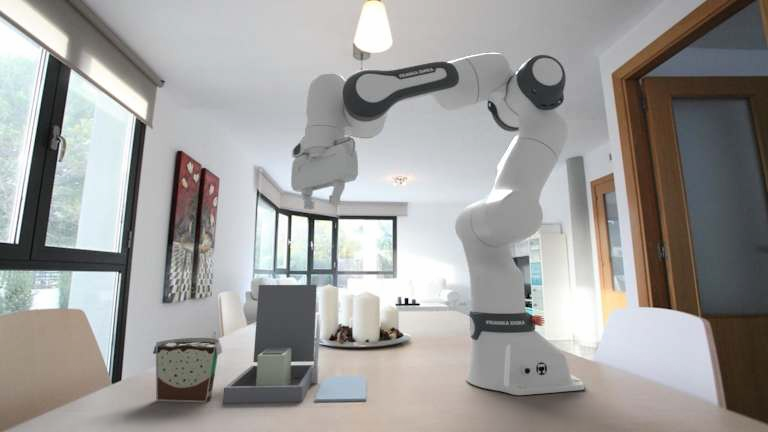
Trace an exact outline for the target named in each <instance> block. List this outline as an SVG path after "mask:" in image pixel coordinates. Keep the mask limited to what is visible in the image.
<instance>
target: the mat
mask: <svg viewBox="0 0 768 432" xmlns="http://www.w3.org/2000/svg"><path fill="white" fill-rule="evenodd" d="M366 401H367V376H366V375H365V376H324V377H323V378H322V380H321V382H320V385H319V388H318V390H317V393H316V394H315V398H314V403H316V402H317V403H318V402H319V403H321V402H323V403H325V402H328V403H329V402H366Z"/></svg>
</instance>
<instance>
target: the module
mask: <svg viewBox="0 0 768 432" xmlns="http://www.w3.org/2000/svg"><path fill="white" fill-rule="evenodd" d="M291 349H292V348H287V347H281V348H269V349H266V350H265V351H263V352H262V353H260V354H259V355H258V361H257V362H256V363H257V365H256V366H257V379H256V382H255V383H256V384H255V386H291V379H292V378H291V365H292V362H291Z"/></svg>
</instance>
